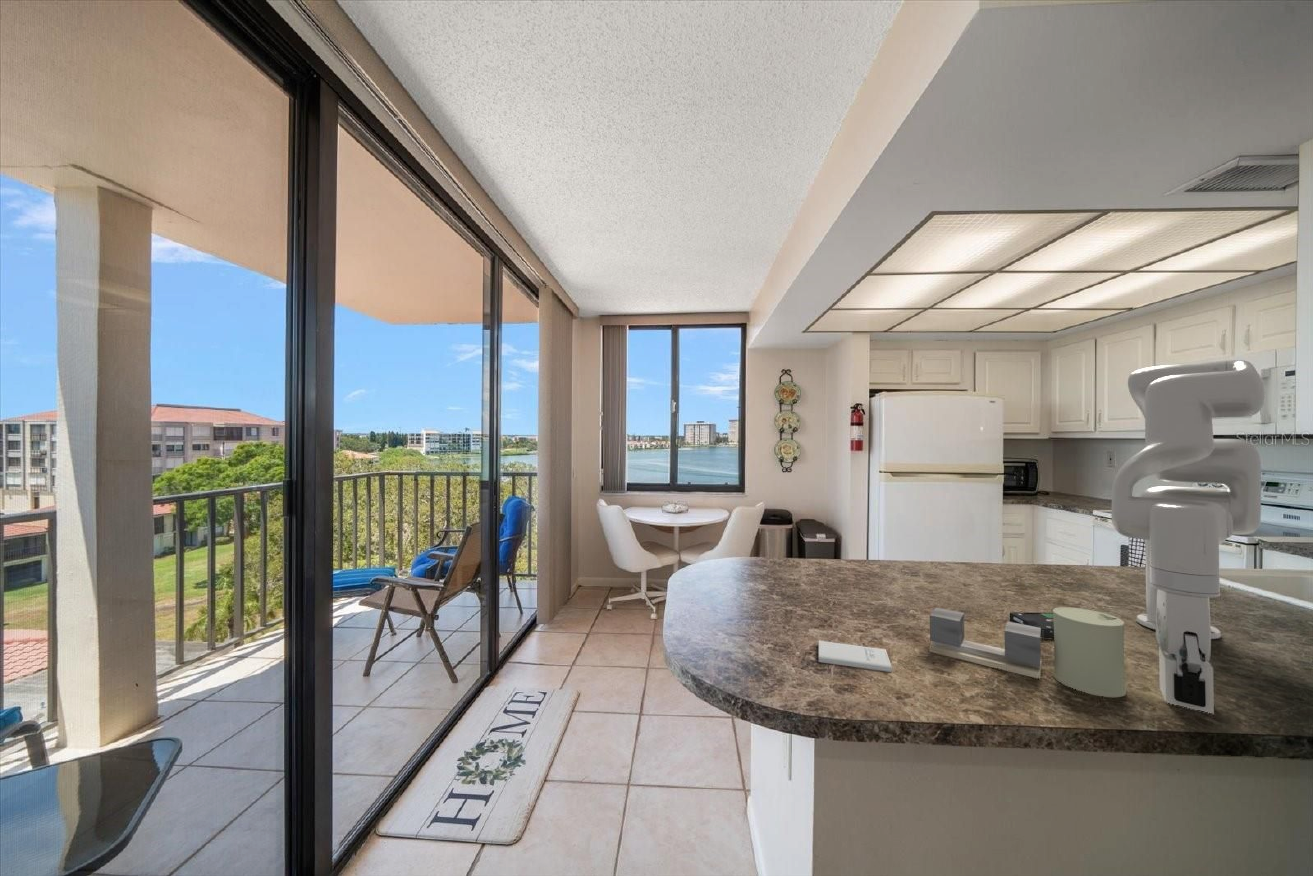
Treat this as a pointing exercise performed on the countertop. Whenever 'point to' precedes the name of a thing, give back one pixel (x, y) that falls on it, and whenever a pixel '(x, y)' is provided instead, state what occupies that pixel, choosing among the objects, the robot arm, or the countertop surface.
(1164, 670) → the block
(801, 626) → the countertop surface
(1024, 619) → the disk drive
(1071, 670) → the can
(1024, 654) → the board
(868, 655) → the external hard drive
